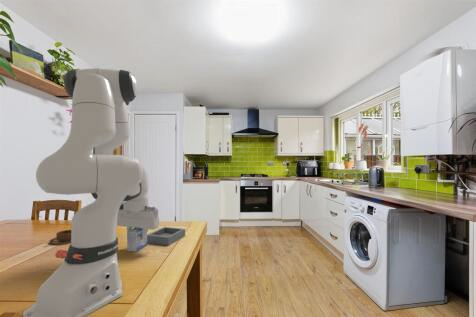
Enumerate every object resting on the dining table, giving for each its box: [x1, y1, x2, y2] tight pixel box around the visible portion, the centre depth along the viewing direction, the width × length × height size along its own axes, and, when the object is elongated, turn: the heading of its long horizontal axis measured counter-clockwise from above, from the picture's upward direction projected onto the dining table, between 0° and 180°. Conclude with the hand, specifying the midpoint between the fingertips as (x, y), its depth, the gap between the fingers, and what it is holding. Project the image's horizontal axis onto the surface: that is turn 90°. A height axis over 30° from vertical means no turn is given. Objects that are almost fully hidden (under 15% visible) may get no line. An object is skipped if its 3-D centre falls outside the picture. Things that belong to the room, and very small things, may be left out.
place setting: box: [42, 229, 71, 248], centre depth 108 cm, size 18×20×6 cm
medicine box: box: [126, 227, 148, 253], centre depth 102 cm, size 8×4×9 cm, turn 168°
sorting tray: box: [147, 226, 186, 247], centre depth 114 cm, size 12×14×4 cm
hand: (137, 237), depth 102 cm, fingers closed on medicine box, 5 cm apart
